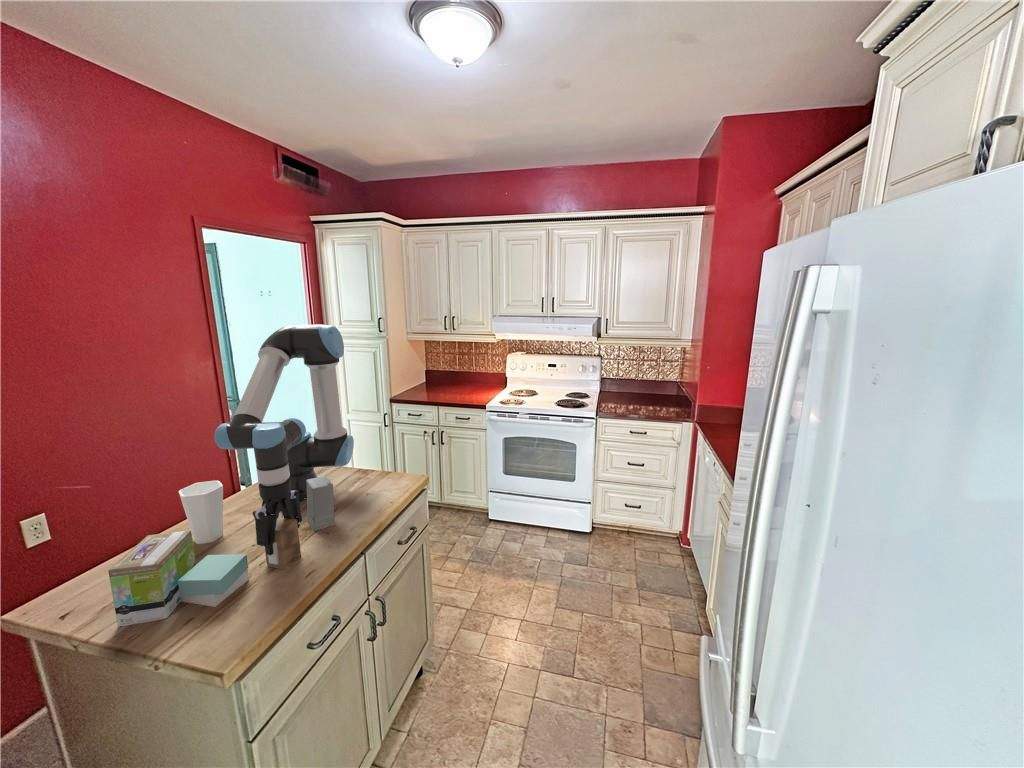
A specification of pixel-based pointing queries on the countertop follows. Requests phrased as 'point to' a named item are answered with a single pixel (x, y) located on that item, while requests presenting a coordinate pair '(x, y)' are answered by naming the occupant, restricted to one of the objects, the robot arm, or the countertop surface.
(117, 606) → the tea box
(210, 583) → the teal slab
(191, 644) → the countertop surface
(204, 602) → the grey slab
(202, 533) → the cup
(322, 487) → the skincare box
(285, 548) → the walnut block
